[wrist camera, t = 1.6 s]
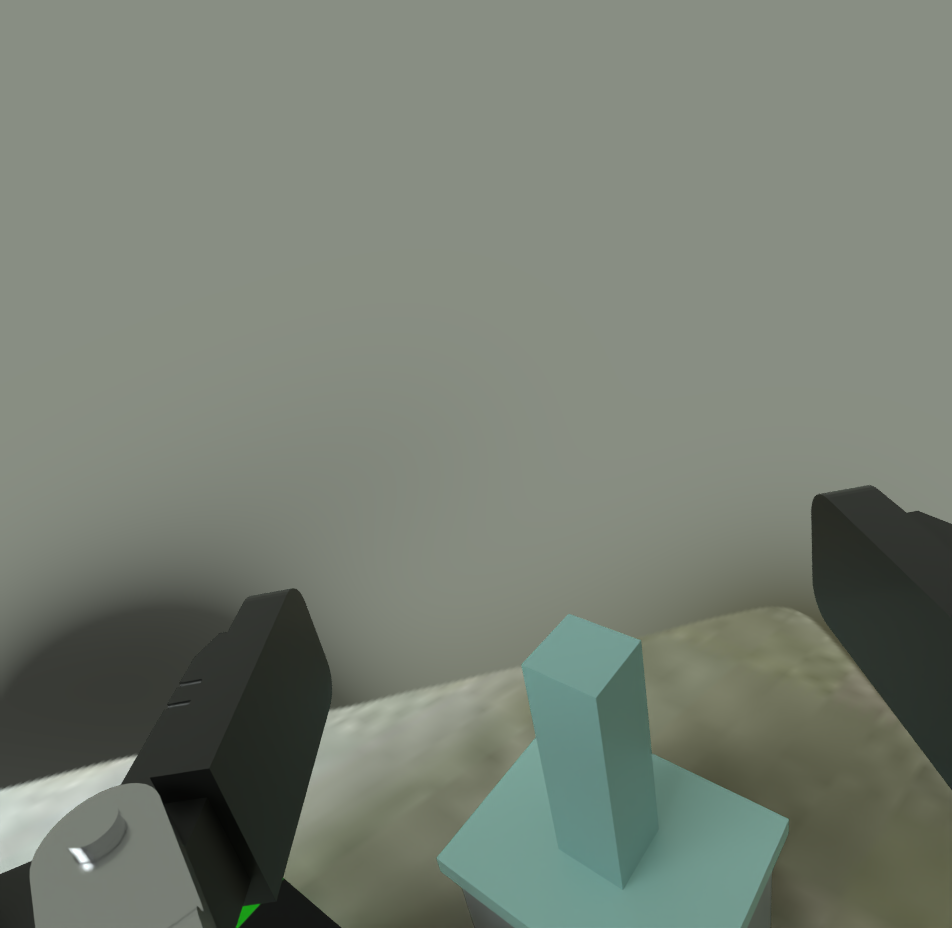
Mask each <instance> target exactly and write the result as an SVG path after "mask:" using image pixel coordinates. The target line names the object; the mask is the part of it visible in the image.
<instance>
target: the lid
mask: <svg viewBox="0 0 952 928" xmlns="http://www.w3.org/2000/svg"><path fill="white" fill-rule="evenodd" d="M522 670H523V675H524V680H525V685H526V690H527V695H528V700H529V705H530V710H531V715H532V719H533V724H534V729H535V734H536V738H535V739H534V740H533V741H532V742H531V744H530V745H529V746H528V747H527V749H526V750H525V751H524V752H523V753H522V755H521V756H520V757H519V758H518V759H517V761H516V762H515V763H514V764H513V766H512V767H511V768H510V769H509V770H508V772H507V773H506V774H505V775H504V776H503V778H502V779H501V780H500V781H499V783H498V784H497V785H496V786H495V787H494V789H493V790H492V791H491V792H490V793H489V795H488V796H487V797H486V798H485V800H484V801H483V802H482V803H481V804H480V806H479V807H478V808H477V809H476V810H475V812H474V813H473V814H472V815H471V817H470V818H469V819H468V820H467V821H466V823H465V824H464V825H463V826H462V827H461V829H460V830H459V831H458V832H457V834H456V835H455V836H454V837H453V838H452V840H451V841H450V842H449V843H448V844H447V846H446V847H445V848H444V849H443V851H442V852H441V853H440V854H439V855H438V857H437V858H436V859H437V862H438V865H439V868H440V871H441V872H442V873H443V874H445V875H446V876H447V877H449V878H450V879H451V880H453V881H454V882H455V883H456V884H458V885H459V886H460V887H462V888H463V889H464V890H466V891H467V892H468V893H470V894H471V895H472V896H473V897H475V898H476V899H477V900H479V901H480V902H481V903H483V904H484V905H485V906H487V907H488V908H489V909H490V910H492V911H493V912H494V913H496V914H497V915H498V916H500V917H501V918H502V919H504V920H505V921H506V922H507V923H509V924H510V925H511V926H513V927H514V928H747V927H748V925H749V923H750V920H751V918H752V916H753V914H754V911H755V909H756V907H757V904H758V902H759V900H760V898H761V895H762V893H763V891H764V888H765V886H766V884H767V882H768V879H769V877H770V875H771V873H772V870H773V868H774V866H775V863H776V861H777V859H778V857H779V854H780V852H781V850H782V847H783V845H784V843H785V841H786V838H787V836H788V833H789V819H788V818H786V817H783V816H781V815H779V814H777V813H775V812H773V811H771V810H769V809H767V808H765V807H763V806H761V805H758V804H756V803H754V802H752V801H750V800H748V799H746V798H744V797H742V796H740V795H738V794H736V793H734V792H731V791H729V790H727V789H725V788H723V787H721V786H719V785H717V784H715V783H713V782H711V781H709V780H706V779H704V778H702V777H700V776H698V775H696V774H694V773H692V772H690V771H688V770H686V769H684V768H681V767H679V766H677V765H675V764H673V763H671V762H669V761H667V760H665V759H663V758H661V757H659V756H657V755H654V754H652V751H651V741H650V730H649V720H648V709H647V698H646V688H645V677H644V667H643V656H642V645H641V640H638V639H636V638H633V637H630V636H627V635H625V634H622V633H619V632H617V631H614V630H611V629H608V628H606V627H603V626H600V625H598V624H595V623H592V622H589V621H587V620H584V619H582V618H578V617H576V616H573V615H571V614H568V615H567V616H566V617H565V618H564V619H563V621H562V622H561V623H560V624H559V625H558V626H557V627H556V628H555V629H554V630H553V631H552V632H551V633H550V634H549V635H548V637H547V638H546V639H545V640H544V641H543V642H542V643H541V644H540V645H539V646H538V647H537V648H536V649H535V650H534V652H533V653H532V654H531V655H530V656H529V657H528V658H527V659H526V660H525V661H524V662H523V663H522Z"/></svg>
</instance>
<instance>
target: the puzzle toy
mask: <svg viewBox="0 0 952 928" xmlns="http://www.w3.org/2000/svg"><path fill="white" fill-rule="evenodd" d="M236 928H341V927H340V926H339V925H338V924H336V923H335V922H334V921H333V920H332V919H331V918H329V917H328V916H327V915H326V914H325V913H323V912H322V911H321V910H320V909H319V908H318V907H316V906H315V905H314V904H313V903H312V902H311V901H309V900H308V899H307V898H306V897H305V896H304V895H302V894H301V893H300V892H299V891H298V890H297V889H295V888H294V887H293V886H292V885H291V884H290V883H288V882H287V881H286V880H285V879H284V878H283V879H282V883H281V887H280V890H279V894H278V897H277V901H276V902H270V903H263V904H256V905H248V906H243V907H242V910H241V913H240V917H239V920H238V923H237V926H236Z"/></svg>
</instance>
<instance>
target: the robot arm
mask: <svg viewBox="0 0 952 928" xmlns="http://www.w3.org/2000/svg"><path fill="white" fill-rule="evenodd" d="M811 515H812V516H811V520H812V572H813V574H812V575H813V589H814V594H815V598H816V602H817V605H818V608H819V610H820V612H821V615H822V617H823V618H824V620H825V622H826V624H827V625H828V626H829V628H830V629H831V630H832V632H833V633H834V634H835V636H836V637H837V638H838V639H839V641H840V642H841V644H842V645H843V646H844V648H845V649H846V650H847V652H848V653H849V654H850V655H851V657H852V658H853V660H854V661H855V662H856V664H857V665H858V666H859V668H860V669H861V670H862V672H863V673H864V674H865V675H866V677H867V678H868V679H869V681H870V682H871V683H872V685H873V686H874V687H875V689H876V690H877V691H878V693H879V694H880V695H881V697H882V698H883V699H884V701H885V702H886V703H887V705H888V706H889V707H890V709H891V710H892V711H893V713H894V714H895V715H896V717H897V718H898V719H899V721H900V722H901V723H902V725H903V726H904V727H905V729H906V730H907V731H908V733H909V734H910V735H911V737H912V738H913V739H914V741H915V742H916V743H917V744H918V746H919V747H920V748H921V750H922V751H923V752H924V754H925V755H926V756H927V758H928V759H929V760H930V762H931V763H932V764H933V766H934V767H935V768H936V770H937V771H938V772H939V774H940V775H941V776H942V778H943V779H944V780H945V782H946V783H947V784H948V786H949V787H950V788H951V790H952V524H950V523H948V522H945V521H943V520H940V519H937V518H935V517H932V516H929V515H927V514H925V513H922V512H920V511H914V512H909V513H906V512H905V511H904V510H903V509H901V508H900V507H899V506H898V505H896V504H895V503H894V502H893V501H892V500H890V499H889V498H888V497H887V496H886V495H884V494H883V493H882V492H881V491H879V490H878V489H876V488H875V487H874V486H871V485H870V486H869V485H867V486H862V487H856V488H851V489H845V490H839V491H834V492H828V493H823V494H818V495H816V496H815V497H814V499H813V502H812V509H811ZM331 697H332V681H331V674H330V669H329V665H328V662H327V659H326V657H325V654H324V651H323V648H322V646H321V643H320V641H319V638H318V635H317V633H316V630H315V627H314V625H313V622H312V619H311V617H310V614H309V611H308V609H307V606H306V603H305V601H304V599H303V597H302V595H301V593H300V592H299V591H298V590H297V589H287V590H281V591H276V592H270V593H265V594H260V595H254V596H250V597H248V598H247V599H245V601H244V602H243V604H242V606H241V608H240V610H239V612H238V614H237V615H236V617H235V619H234V621H233V623H232V625H231V627H230V629H229V631H228V632H223V633H219V634H218V635H217V636H216V637H215V638H214V639H213V640H212V641H211V642H210V643H209V644H208V645H207V646H205V647H204V648H203V649H202V650H201V651H200V652H199V653H198V654H197V655H196V656H195V657H194V659H193V660H192V662H191V664H190V666H189V667H188V669H187V671H186V673H185V674H184V676H183V678H182V679H181V681H180V687H179V688H176V690H175V692H174V693H173V695H172V697H171V699H170V700H169V702H168V704H167V705H168V709H165V710H164V711H163V713H162V714H161V716H160V718H159V719H158V721H157V723H156V725H155V726H154V728H153V730H152V731H151V733H150V735H149V737H148V738H147V740H146V742H145V744H144V745H143V747H142V749H141V751H140V752H139V754H138V756H137V758H136V759H135V761H134V763H133V764H132V766H131V768H130V770H129V771H128V773H127V775H126V777H125V778H124V780H123V782H122V784H121V785H119V786H116V787H112V788H109V789H107V790H105V791H102V792H100V793H98V794H96V795H94V796H93V797H91V798H89V799H87V800H86V801H84V802H83V803H81V804H80V805H78V806H77V807H76V808H74V809H73V810H72V811H70V812H69V813H68V814H67V815H66V816H65V817H63V818H62V819H61V820H60V821H59V822H58V823H57V824H56V825H55V826H54V827H53V828H52V829H51V831H50V832H49V833H48V834H47V836H46V837H45V838H44V840H43V841H42V842H41V844H40V846H39V847H38V849H37V851H36V853H35V855H34V857H33V860H32V861H31V862H28V863H26V864H23V865H21V866H19V867H16V868H14V869H11V870H9V871H7V872H4V873H2V874H0V928H236V926H237V923H238V920H239V917H240V913H241V910H242V907H243V906H248V905H256V904H263V903H270V902H276V901H277V897H278V894H279V890H280V887H281V883H282V879H283V876H284V872H285V868H286V865H287V861H288V857H289V854H290V850H291V846H292V843H293V839H294V836H295V832H296V828H297V825H298V821H299V817H300V814H301V810H302V806H303V803H304V799H305V796H306V792H307V788H308V785H309V781H310V777H311V774H312V770H313V766H314V763H315V759H316V755H317V752H318V748H319V745H320V741H321V737H322V734H323V730H324V726H325V723H326V719H327V715H328V712H329V708H330V704H331Z"/></svg>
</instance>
